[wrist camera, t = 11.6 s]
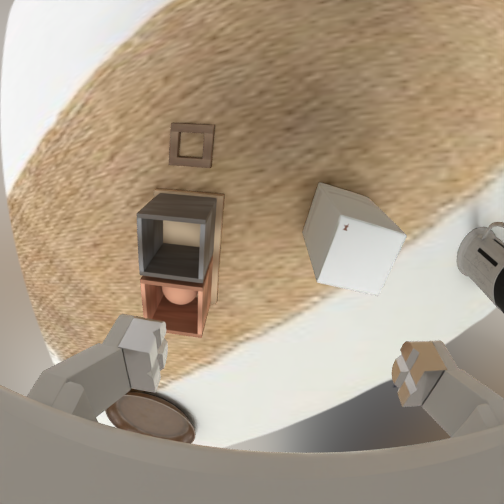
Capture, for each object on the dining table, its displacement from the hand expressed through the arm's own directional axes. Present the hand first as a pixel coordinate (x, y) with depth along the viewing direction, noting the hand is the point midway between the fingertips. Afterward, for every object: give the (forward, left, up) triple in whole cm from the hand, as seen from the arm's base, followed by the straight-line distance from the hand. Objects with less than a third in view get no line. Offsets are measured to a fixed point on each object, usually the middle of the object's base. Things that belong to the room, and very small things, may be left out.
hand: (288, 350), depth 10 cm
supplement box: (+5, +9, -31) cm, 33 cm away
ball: (+16, -10, -28) cm, 33 cm away
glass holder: (+5, +33, -31) cm, 46 cm away
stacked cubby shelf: (+12, -10, -31) cm, 35 cm away
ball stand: (-2, -10, -31) cm, 33 cm away
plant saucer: (+54, -19, -32) cm, 65 cm away
